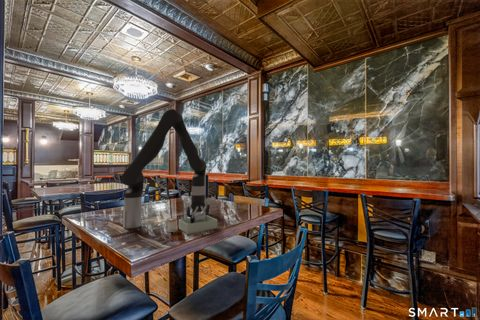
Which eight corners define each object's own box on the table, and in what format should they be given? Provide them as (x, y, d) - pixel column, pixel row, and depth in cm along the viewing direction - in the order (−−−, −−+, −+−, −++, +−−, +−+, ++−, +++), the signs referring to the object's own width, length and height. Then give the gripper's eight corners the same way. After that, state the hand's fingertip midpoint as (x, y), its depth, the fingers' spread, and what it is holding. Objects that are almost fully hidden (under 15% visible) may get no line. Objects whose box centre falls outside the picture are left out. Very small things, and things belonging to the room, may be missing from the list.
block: (195, 227, 120) (195, 216, 120) (190, 224, 125) (190, 214, 125) (204, 225, 123) (205, 214, 123) (200, 223, 128) (200, 213, 128)
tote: (187, 234, 113) (187, 224, 113) (178, 228, 124) (178, 219, 124) (217, 228, 124) (217, 219, 124) (207, 223, 134) (207, 215, 134)
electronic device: (203, 217, 150) (203, 174, 151) (193, 216, 151) (193, 173, 152) (209, 213, 162) (209, 173, 163) (200, 213, 164) (200, 173, 164)
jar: (168, 233, 115) (168, 220, 115) (165, 231, 119) (165, 218, 119) (177, 231, 118) (178, 219, 118) (174, 229, 122) (174, 217, 122)
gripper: (206, 192, 132) (206, 220, 131) (183, 194, 123) (183, 223, 123) (212, 193, 125) (212, 223, 125) (188, 195, 117) (188, 227, 117)
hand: (197, 223), depth 124 cm, fingers closed on block, 6 cm apart
